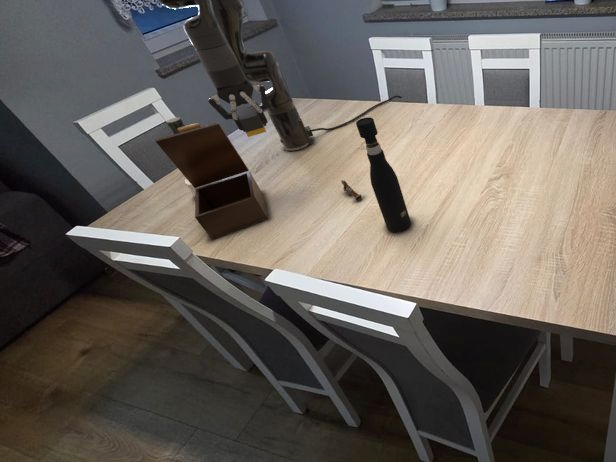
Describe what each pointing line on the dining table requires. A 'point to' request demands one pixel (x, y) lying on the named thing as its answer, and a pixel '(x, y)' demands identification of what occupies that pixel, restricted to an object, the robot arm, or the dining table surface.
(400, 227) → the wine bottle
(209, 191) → the case
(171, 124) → the sauce bottle
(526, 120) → the dining table surface
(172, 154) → the case lid
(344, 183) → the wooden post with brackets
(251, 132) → the duster
